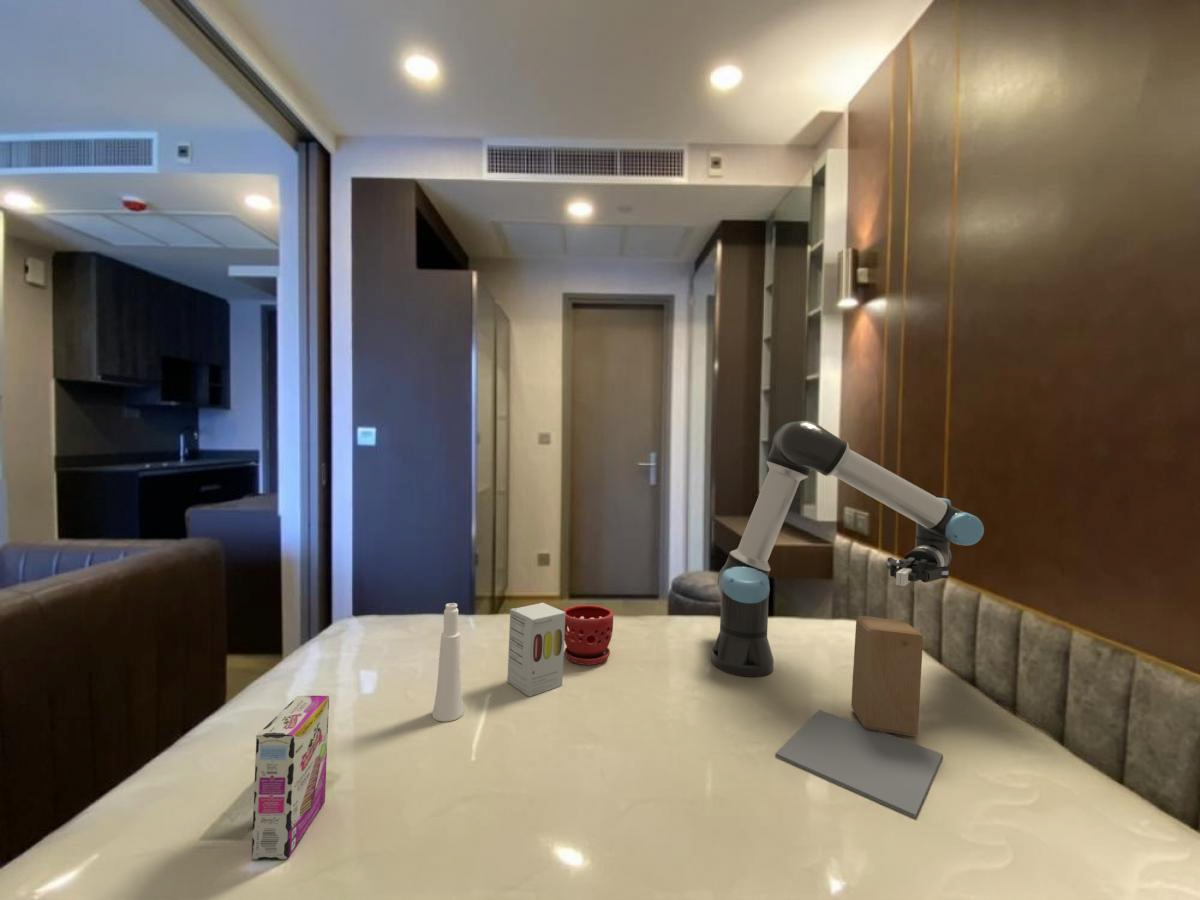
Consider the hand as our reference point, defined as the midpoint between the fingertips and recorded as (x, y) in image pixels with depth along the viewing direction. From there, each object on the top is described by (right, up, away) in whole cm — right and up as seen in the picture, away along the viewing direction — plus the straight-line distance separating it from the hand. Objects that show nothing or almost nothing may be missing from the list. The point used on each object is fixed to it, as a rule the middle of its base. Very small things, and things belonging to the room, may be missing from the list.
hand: (900, 579), depth 113 cm
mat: (-18, -28, -18) cm, 37 cm away
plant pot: (-68, -26, +22) cm, 76 cm away
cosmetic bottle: (-95, -25, -8) cm, 99 cm away
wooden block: (-7, -28, -7) cm, 29 cm away
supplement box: (-79, -25, +6) cm, 84 cm away
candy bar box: (-107, -25, -40) cm, 117 cm away
